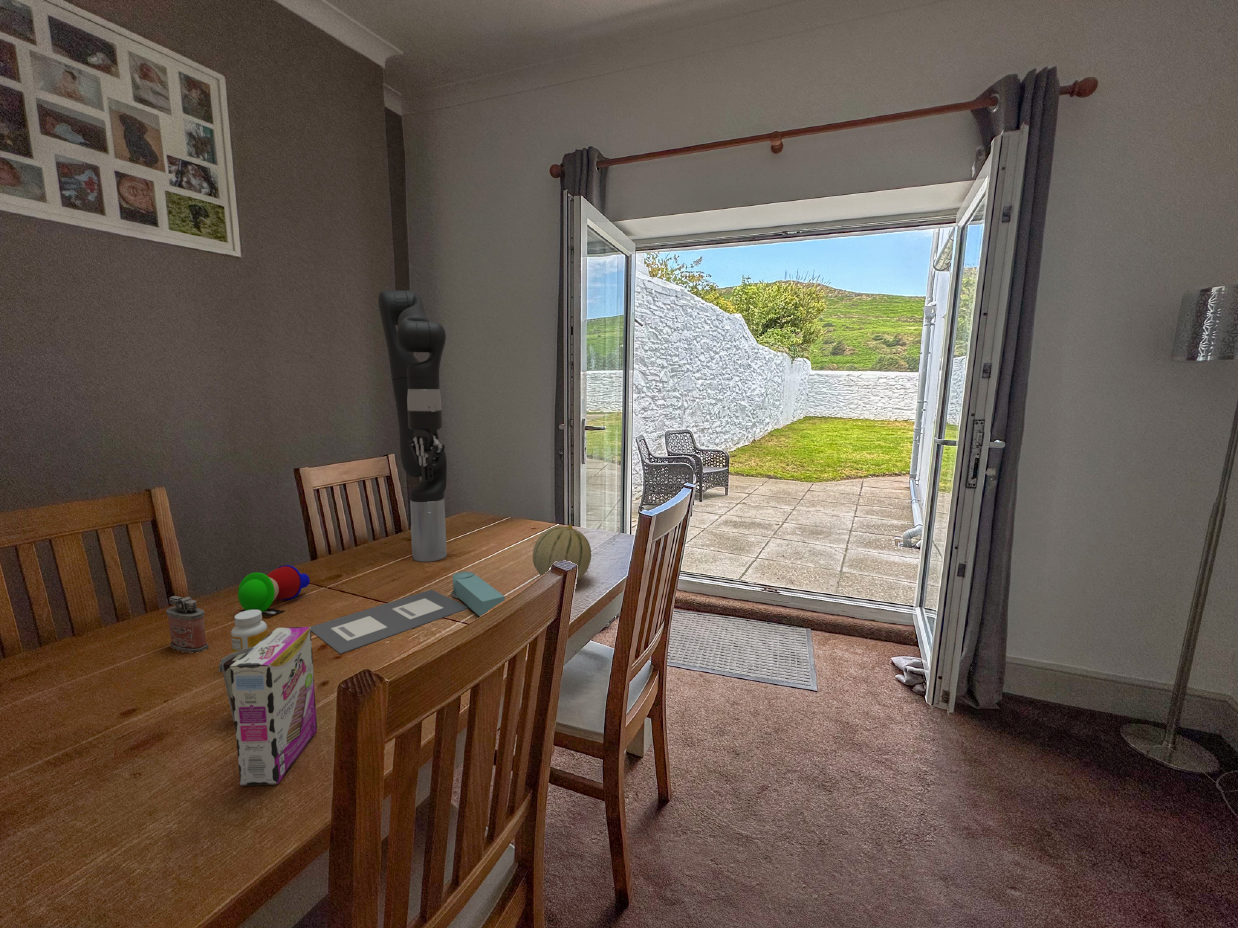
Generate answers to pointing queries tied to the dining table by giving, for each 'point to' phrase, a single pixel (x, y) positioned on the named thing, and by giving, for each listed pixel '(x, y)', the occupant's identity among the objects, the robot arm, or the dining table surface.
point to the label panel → (385, 620)
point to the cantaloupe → (562, 549)
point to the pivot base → (454, 595)
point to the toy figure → (270, 588)
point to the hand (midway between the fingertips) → (427, 481)
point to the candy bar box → (273, 704)
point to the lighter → (186, 625)
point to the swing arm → (475, 592)
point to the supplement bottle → (248, 630)
